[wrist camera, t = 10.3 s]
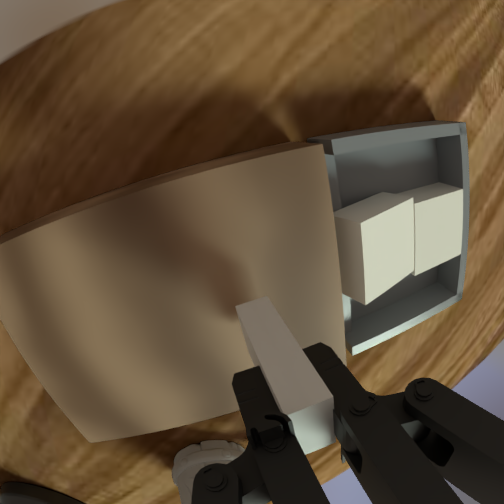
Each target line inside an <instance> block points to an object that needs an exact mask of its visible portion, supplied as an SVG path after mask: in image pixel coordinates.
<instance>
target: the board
mask: <svg viewBox="0 0 504 504" xmlns="http://www.w3.org/2000/svg"><path fill="white" fill-rule="evenodd" d="M265 296H267V297H268V298H269V300H270V301H271V303H272V304H273V306H274V307H275V309H276V310H277V312H278V313H279V315H280V316H281V318H282V320H283V321H284V323H285V324H286V326H287V327H288V329H289V330H290V332H291V333H292V335H293V336H294V338H295V339H296V341H297V342H298V344H299V345H300V347H301V348H302V349H304V348H306V347H309V346H311V345H314V344H316V343H319V342H322V343H324V344H325V345H327V346H329V347H331V348H332V349H333V350H334V352H335V353H336V354H337V356H338V358H340V359H341V361H342V362H343V364H345V366H346V347H345V328H344V313H343V300H342V287H341V276H340V266H339V256H338V247H337V238H336V230H335V222H334V214H333V207H332V199H331V192H330V186H329V179H328V173H327V166H326V160H325V154H324V149H323V144H318V143H305V142H286V143H282V144H277V145H272V146H268V147H263V148H259V149H255V150H250V151H246V152H242V153H238V154H234V155H230V156H226V157H222V158H218V159H214V160H210V161H206V162H203V163H199V164H195V165H192V166H188V167H185V168H181V169H178V170H174V171H171V172H168V173H164V174H161V175H158V176H155V177H151V178H148V179H145V180H142V181H139V182H136V183H133V184H130V185H127V186H124V187H121V188H118V189H115V190H112V191H109V192H106V193H103V194H101V195H98V196H95V197H92V198H90V199H87V200H84V201H82V202H79V203H76V204H74V205H71V206H68V207H66V208H63V209H61V210H58V211H56V212H53V213H51V214H48V215H46V216H44V217H41V218H39V219H36V220H34V221H32V222H29V223H27V224H25V225H22V226H20V227H18V228H16V229H13V230H11V231H9V232H7V233H5V234H3V235H1V236H0V320H1V321H2V323H3V325H4V327H5V328H6V330H7V332H8V334H9V335H10V337H11V339H12V340H13V342H14V344H15V345H16V347H17V349H18V350H19V352H20V353H21V355H22V356H23V358H24V359H25V361H26V363H27V364H28V365H29V367H30V368H31V370H32V371H33V373H34V374H35V376H36V377H37V379H38V380H39V381H40V383H41V384H42V385H43V387H44V388H45V390H46V391H47V392H48V394H49V395H50V396H51V397H52V399H53V400H54V401H55V403H56V404H57V405H58V406H59V408H60V409H61V410H62V411H63V413H64V414H65V415H66V416H67V417H68V419H69V420H70V421H71V422H72V423H73V425H74V426H75V427H76V428H77V429H78V430H79V431H80V432H81V434H82V435H83V436H84V437H85V438H86V439H87V440H88V441H89V442H90V443H93V442H101V441H108V440H114V439H120V438H126V437H132V436H137V435H143V434H148V433H153V432H157V431H162V430H167V429H171V428H175V427H180V426H184V425H188V424H192V423H196V422H200V421H203V420H207V419H211V418H214V417H218V416H222V415H225V414H228V413H232V412H235V411H238V410H240V409H239V406H238V402H237V399H236V396H235V393H234V390H233V387H232V380H233V376H234V373H237V372H240V371H244V370H247V369H250V368H253V367H255V366H254V364H253V361H252V359H251V357H250V354H249V352H248V349H247V345H246V342H245V338H244V335H243V332H242V328H241V325H240V321H239V318H238V315H237V311H236V308H235V306H237V305H240V304H243V303H246V302H249V301H253V300H256V299H259V298H262V297H265Z"/></svg>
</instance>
